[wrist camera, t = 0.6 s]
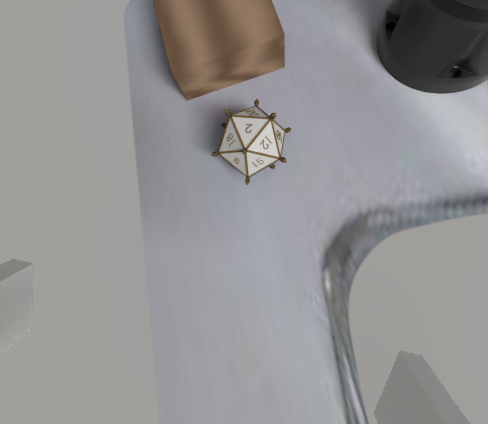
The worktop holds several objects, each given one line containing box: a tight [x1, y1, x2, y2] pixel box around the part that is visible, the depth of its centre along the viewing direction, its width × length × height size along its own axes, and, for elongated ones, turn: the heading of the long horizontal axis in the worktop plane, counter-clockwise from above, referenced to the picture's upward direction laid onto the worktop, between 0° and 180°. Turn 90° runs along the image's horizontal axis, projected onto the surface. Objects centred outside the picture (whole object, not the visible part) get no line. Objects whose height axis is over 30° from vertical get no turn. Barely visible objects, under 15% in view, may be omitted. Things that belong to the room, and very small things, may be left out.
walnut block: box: [153, 0, 285, 100], centre depth 39 cm, size 14×14×6 cm
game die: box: [211, 99, 291, 185], centre depth 34 cm, size 9×8×10 cm
